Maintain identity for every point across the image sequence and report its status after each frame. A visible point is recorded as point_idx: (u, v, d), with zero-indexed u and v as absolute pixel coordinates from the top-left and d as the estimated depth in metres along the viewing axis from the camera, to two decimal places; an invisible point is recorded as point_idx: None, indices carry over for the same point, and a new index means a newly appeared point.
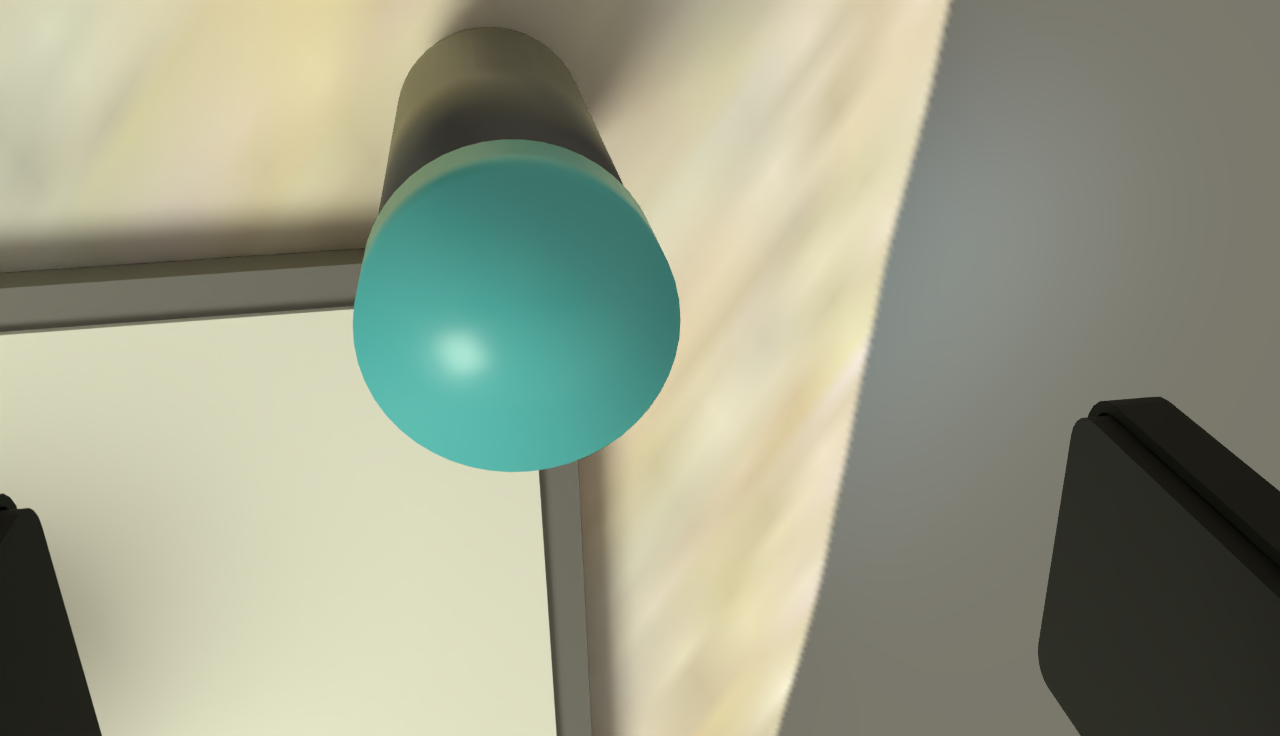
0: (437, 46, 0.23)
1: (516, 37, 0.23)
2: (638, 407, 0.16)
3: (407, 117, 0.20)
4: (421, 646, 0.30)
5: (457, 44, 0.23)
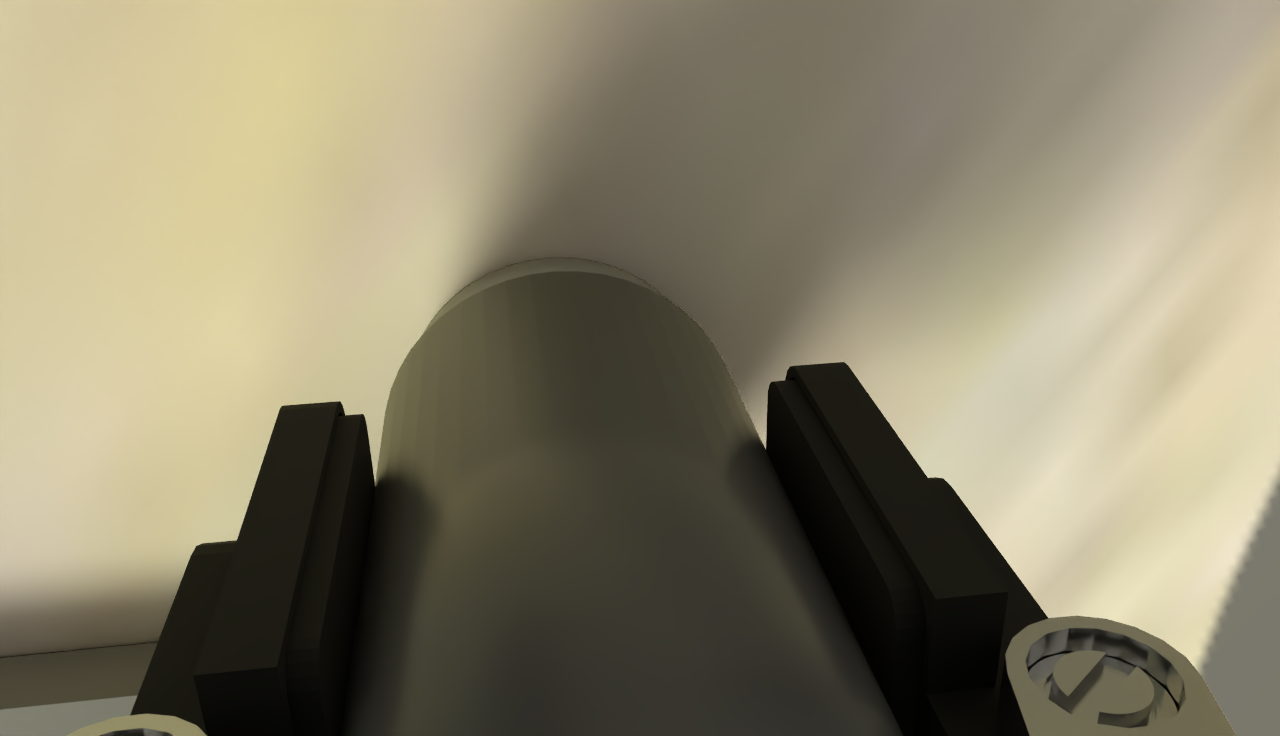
0: (463, 317, 0.12)
1: (622, 304, 0.12)
2: None
3: (392, 608, 0.08)
4: None
5: (504, 332, 0.11)
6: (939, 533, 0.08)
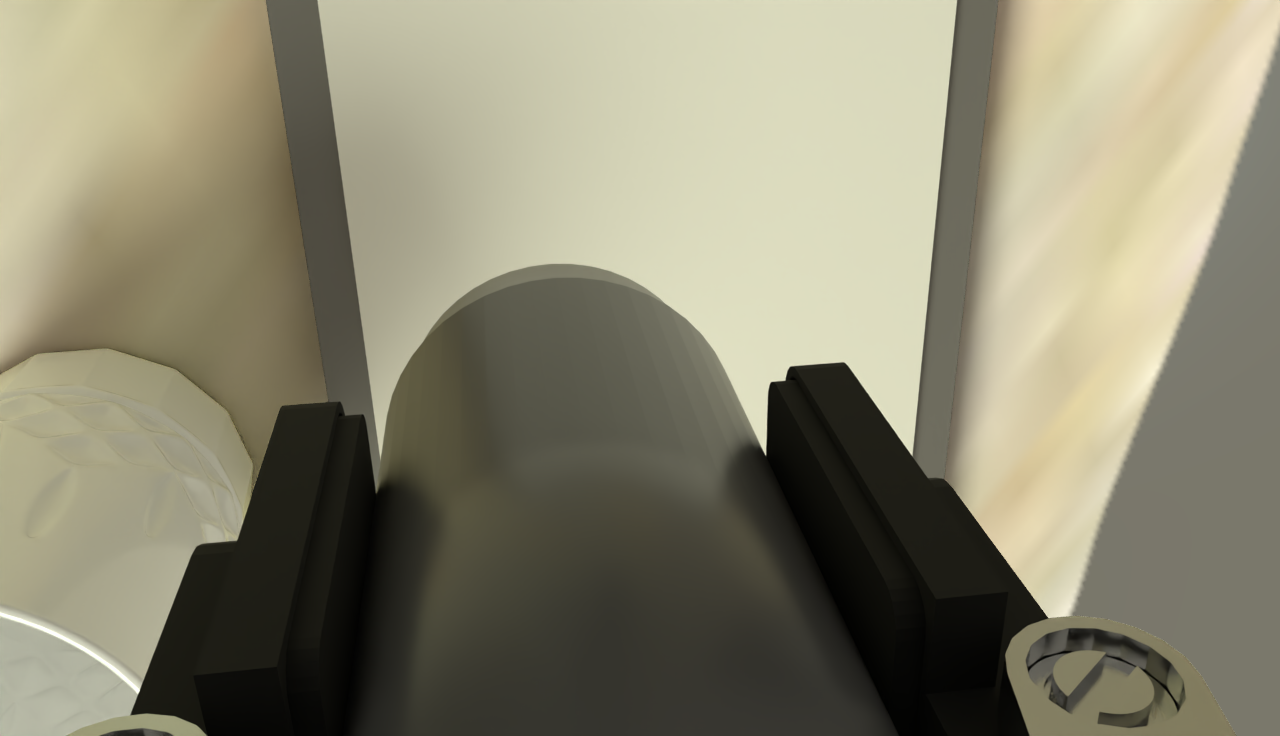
0: (464, 324, 0.12)
1: (622, 311, 0.12)
2: None
3: (393, 618, 0.08)
4: (788, 275, 0.26)
5: (505, 339, 0.11)
6: (939, 533, 0.08)
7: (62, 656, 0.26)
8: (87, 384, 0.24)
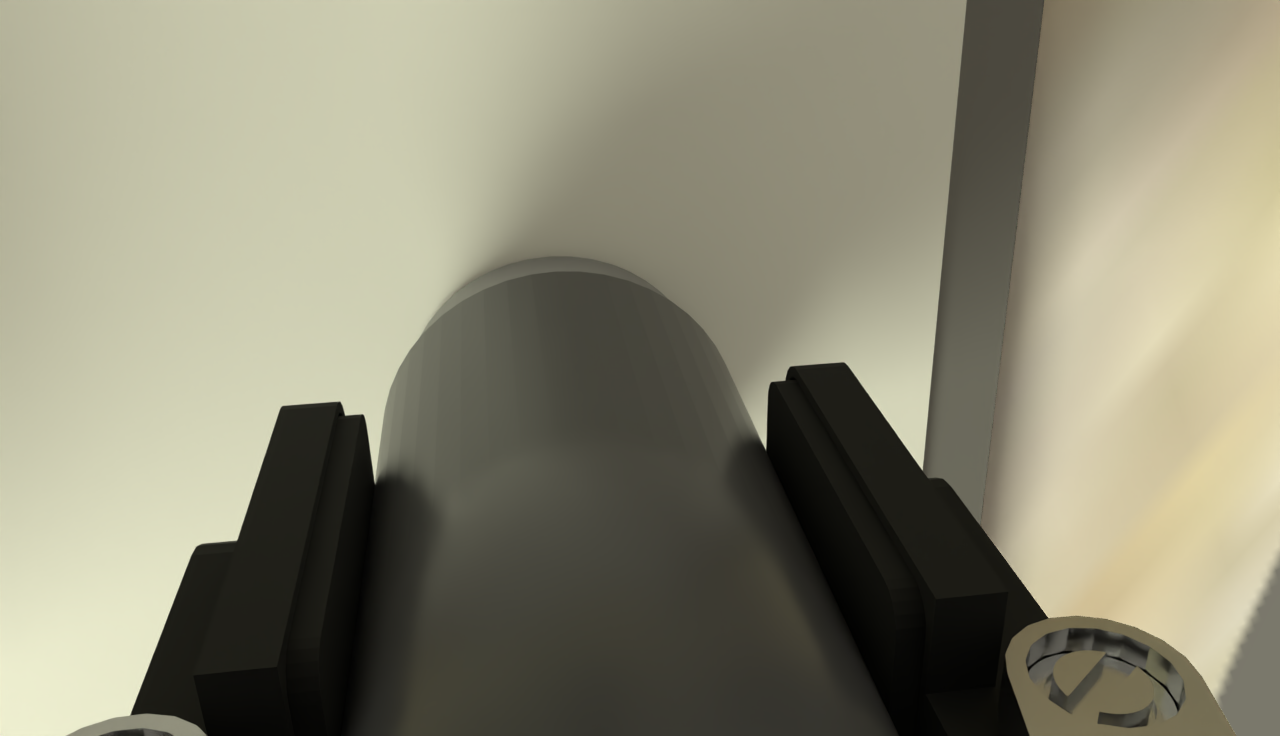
0: (463, 318, 0.12)
1: (623, 306, 0.11)
2: None
3: (391, 620, 0.08)
4: (666, 239, 0.13)
5: (505, 334, 0.11)
6: (938, 533, 0.08)
7: None
8: None
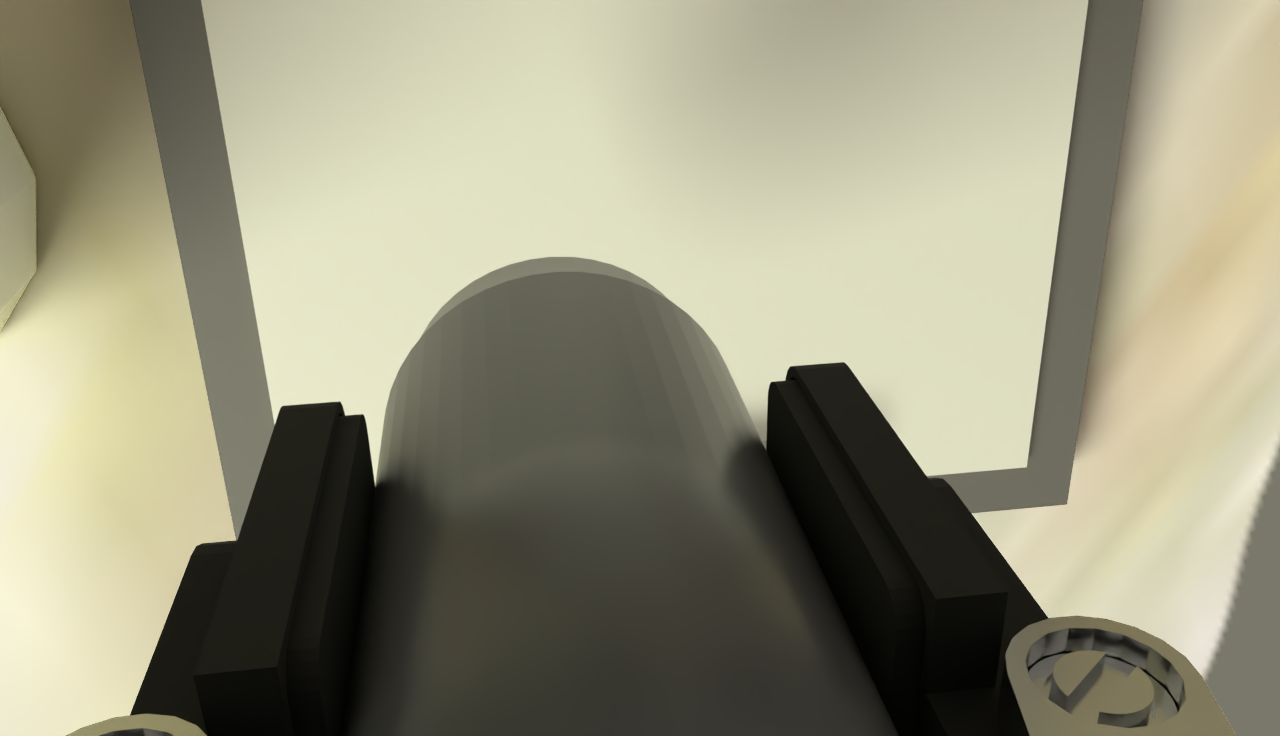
0: (463, 318, 0.12)
1: (624, 306, 0.11)
2: None
3: (392, 621, 0.08)
4: None
5: (506, 335, 0.11)
6: (938, 533, 0.08)
7: None
8: None
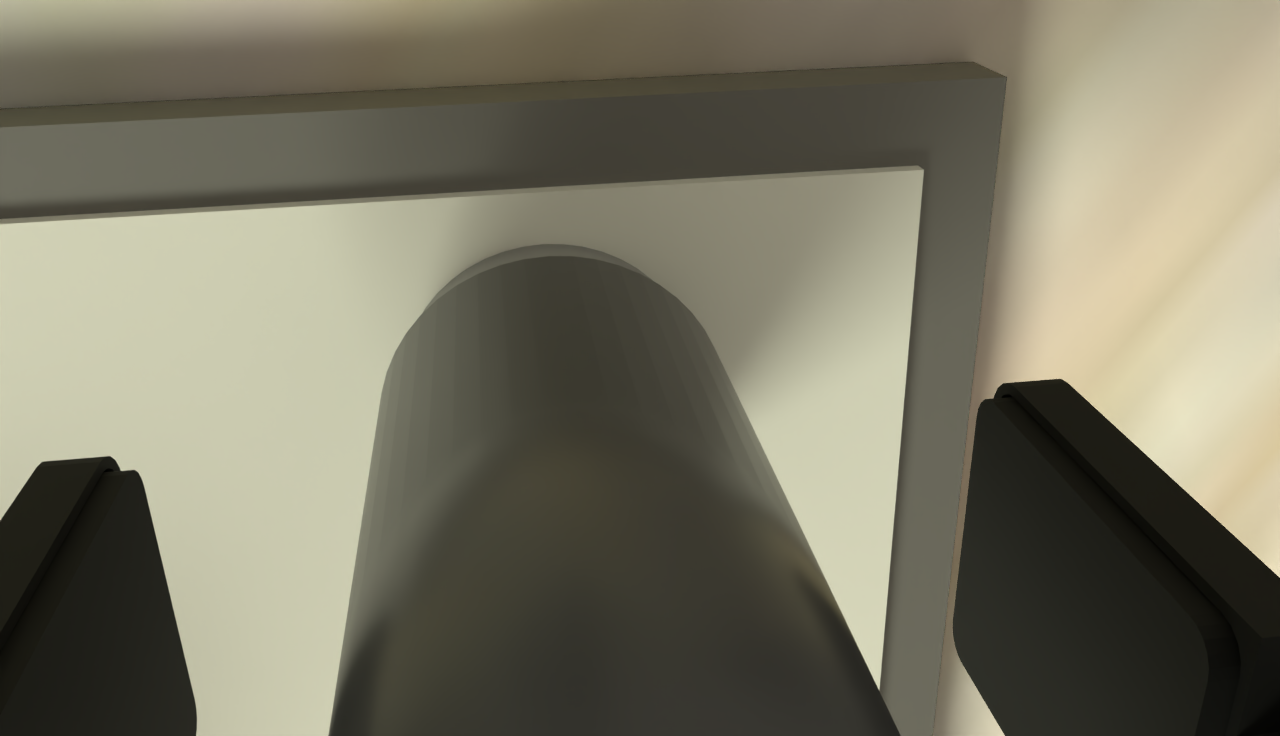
0: (457, 300, 0.12)
1: (614, 288, 0.12)
2: None
3: (385, 576, 0.08)
4: None
5: (498, 313, 0.11)
6: (1236, 565, 0.08)
7: None
8: None
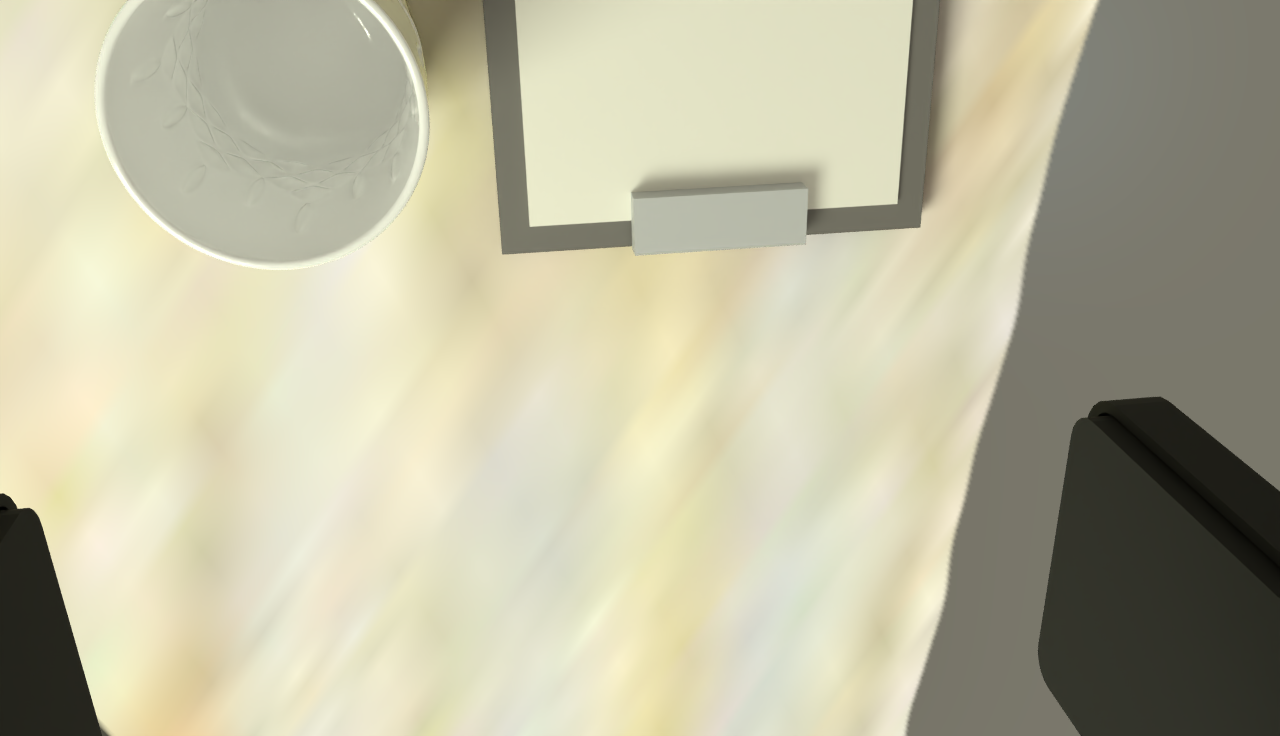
0: None
1: None
2: None
3: None
4: None
5: None
6: None
7: (289, 163, 0.36)
8: None
